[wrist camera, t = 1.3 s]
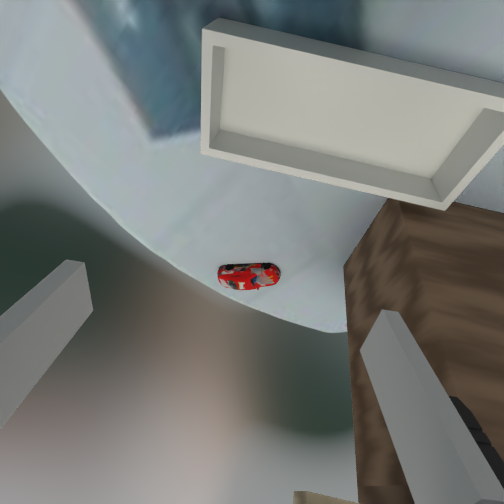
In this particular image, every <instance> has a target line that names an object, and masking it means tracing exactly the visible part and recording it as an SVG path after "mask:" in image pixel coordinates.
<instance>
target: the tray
mask: <svg viewBox="0 0 504 504" xmlns="http://www.w3.org/2000/svg"><path fill="white" fill-rule="evenodd" d="M503 145H504V83H500V82H496V81H492V80H487V79H483V78H479V77H474V76H470V75H466V74H461V73H457V72H453V71H449V70H444V69H440V68H436V67H431V66H427V65H423V64H418V63H414V62H410V61H405V60H401V59H397V58H393V57H388V56H384V55H380V54H375V53H371V52H367V51H362V50H358V49H354V48H349V47H345V46H341V45H336V44H332V43H328V42H324V41H319V40H315V39H311V38H306V37H302V36H298V35H293V34H289V33H285V32H280V31H276V30H272V29H267V28H263V27H259V26H255V25H250V24H246V23H242V22H237V21H233V20H229V19H224V18H220V17H219V18H217V19H216V20H214V21H213V22H211V23H210V24H208V25H207V26H205V27H204V28H202V77H201V154H203V155H207V156H211V157H216V158H220V159H224V160H229V161H233V162H237V163H241V164H246V165H250V166H254V167H259V168H263V169H267V170H271V171H276V172H280V173H284V174H289V175H293V176H297V177H302V178H306V179H310V180H314V181H319V182H323V183H327V184H332V185H336V186H340V187H344V188H349V189H353V190H357V191H362V192H366V193H370V194H375V195H379V196H383V197H387V198H392V199H396V200H400V201H405V202H409V203H413V204H417V205H422V206H426V207H430V208H435V209H439V210H443V211H445V210H446V209H447V208H448V207H449V206H450V205H451V203H452V202H453V201H454V200H455V199H456V198H457V197H458V196H459V194H460V193H461V192H462V191H463V190H464V189H465V188H466V187H467V185H468V184H469V183H470V182H471V181H472V180H473V179H474V178H475V176H476V175H477V174H478V173H479V172H480V171H481V170H482V168H483V167H484V166H485V165H486V164H487V163H488V162H489V161H490V159H491V158H492V157H493V156H494V155H495V154H496V153H497V152H498V150H499V149H500V148H501V147H502V146H503Z"/></svg>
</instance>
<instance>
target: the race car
mask: <svg viewBox="0 0 504 504" xmlns="http://www.w3.org/2000/svg"><path fill="white" fill-rule="evenodd" d="M279 279H280V271H279V269H278V268H277V267H276V266H274V265H271V264H270V263H263V264H262V266H261V264H241V265H235V267H234V265H233V264H230V265H229V264H228V265H226V266H222V267H220V268H219V270H218V280H219V282H220V283H221V285H222V286H224V287H226V288H231V289H236V290H251V289H256V288H257V290H258V289H259V287H264V286H271V285H274V284H276V283H277V282H278V281H279Z"/></svg>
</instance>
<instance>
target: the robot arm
mask: <svg viewBox="0 0 504 504" xmlns="http://www.w3.org/2000/svg"><path fill="white" fill-rule="evenodd" d="M92 311H93V308H92V302H91V296H90V291H89V285H88V280H87V274H86V268H85V263H84V262H78V261H71V260H65V261H64V262H63V263H62V264H61V265H60V266H58V267H57V268H56V269H55V270H54V271H53V272H51V273H50V274H49V275H48V276H47V277H46V278H44V279H43V280H42V281H41V282H40V283H39V284H37V285H36V286H35V287H34V288H33V289H32V290H30V291H29V292H28V293H27V294H26V295H25V296H23V297H22V298H21V299H20V300H19V301H18V302H16V304H14V305H13V306H12V307H11V308H9V309H8V310H7V311H6V312H5V313H4V314H3V315H1V316H0V429H1V428H2V427H3V426H4V424H5V423H6V422H7V420H8V419H9V418H10V417H11V415H12V414H13V413H14V411H15V410H16V409H17V407H18V406H19V405H20V404H21V402H22V401H23V400H24V398H25V397H26V396H27V395H28V393H29V392H30V391H31V389H32V388H33V387H34V386H35V384H36V383H37V382H38V381H39V379H40V378H41V377H42V375H43V374H44V373H45V372H46V370H47V369H48V368H49V366H50V365H51V364H52V363H53V361H54V360H55V358H56V357H57V356H58V355H59V354H60V352H61V351H62V350H63V348H64V347H65V346H66V344H67V343H68V342H69V341H70V339H71V338H72V337H73V336H74V334H75V333H76V332H77V330H78V329H79V328H80V327H81V325H82V324H83V323H84V321H85V320H86V319H87V317H88V316H89V315H90V314H91V312H92ZM360 352H361V355H362V358H363V361H364V363H365V366H366V369H367V372H368V375H369V377H370V380H371V383H372V386H373V389H374V391H375V394H376V397H377V400H378V402H379V405H380V408H381V411H382V414H383V416H384V419H385V422H386V425H387V427H388V430H389V433H390V436H391V439H392V441H393V444H394V447H395V450H396V453H397V455H398V458H399V461H400V464H401V466H402V469H403V472H404V475H405V478H406V480H407V483H408V486H409V489H410V492H411V494H412V497H413V500H414V503H415V504H504V462H503V460H502V459H501V457H500V456H499V454H498V452H497V451H496V449H495V448H494V447H492V445H491V444H492V443H491V441H490V440H489V438H488V437H487V435H486V434H485V433H484V432H483V431H482V427H481V426H480V424H479V423H478V421H477V420H476V418H475V416H474V415H473V413H472V412H471V411H470V410H469V409H468V408H467V407H466V406H465V405H464V404H463V402H462V401H461V400H460V399H459V398H458V397H454V396H448V395H447V393H446V391H445V389H444V388H443V386H442V384H441V383H440V381H439V379H438V378H437V376H436V374H435V373H434V371H433V369H432V368H431V366H430V364H429V363H428V361H427V359H426V357H425V356H424V354H423V352H422V351H421V349H420V347H419V346H418V344H417V342H416V341H415V339H414V337H413V336H412V334H411V332H410V331H409V329H408V327H407V325H406V324H405V322H404V320H403V319H402V317H401V315H400V314H399V312H396V311H389V310H383V309H382V310H381V312H380V314H379V316H378V318H377V319H376V321H375V323H374V325H373V327H372V329H371V331H370V332H369V334H368V336H367V338H366V340H365V342H364V343H363V345H362V347H361V349H360Z"/></svg>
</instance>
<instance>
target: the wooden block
mask: <svg viewBox="0 0 504 504" xmlns="http://www.w3.org/2000/svg"><path fill="white" fill-rule="evenodd" d="M343 268H344V283H345V299H346V315H347V330H348V346H349V360H350V376H351V392H352V408H353V424H354V439H355V454H356V470H357V486H358V502H359V504H415V503H414V500H413V497H412V494H411V492H410V489H409V486H408V483H407V480H406V478H405V475H404V472H403V469H402V466H401V464H400V461H399V458H398V455H397V453H396V450H395V447H394V444H393V441H392V439H391V436H390V433H389V430H388V427H387V425H386V422H385V419H384V416H383V414H382V411H381V408H380V405H379V402H378V400H377V397H376V394H375V391H374V389H373V386H372V383H371V380H370V377H369V375H368V372H367V369H366V366H365V363H364V361H363V358H362V355H361V352H360V349H361V347H362V345H363V343H364V342H365V340H366V338H367V336H368V334H369V332H370V331H371V329H372V327H373V325H374V323H375V321H376V319H377V318H378V316H379V314H380V312H381V310H382V309H383V310H389V311H396V312H399V314H400V315H401V317H402V319H403V320H404V322H405V324H406V325H407V327H408V329H409V331H410V332H411V334H412V336H413V337H414V339H415V341H416V342H417V344H418V346H419V347H420V349H421V351H422V352H423V354H424V356H425V357H426V359H427V361H428V363H429V364H430V366H431V368H432V369H433V371H434V373H435V374H436V376H437V378H438V379H439V381H440V383H441V384H442V386H443V388H444V389H445V391H446V393H447V395H448V396H454V397H458V398H459V399H460V400H461V401H462V402H463V404H464V405H465V406H466V407H467V408H468V409H469V410H470V411H471V412H472V413H473V415H474V416H475V418H476V420H477V421H478V423H479V424H480V426H481V427H482V431H483V432H484V433H485V434H486V435H487V437H488V438H489V440H490V441H491V443H492V444H491V445H492V447H494V448H495V449H496V451H497V452H498V454H499V456H500V457H501V459H502V460H503V462H504V214H503V213H499V212H495V211H490V210H486V209H482V208H477V207H473V206H469V205H465V204H460V203H456V202H452V203H451V205H450V206H449V207H448V208H447V209H446V210H445V211H443V210H439V209H435V208H430V207H426V206H422V205H417V204H413V203H409V202H405V201H400V200H396V199H392V198H388V199H387V201H386V202H385V204H384V205H383V207H382V208H381V210H380V212H379V213H378V215H377V216H376V218H375V219H374V221H373V222H372V224H371V225H370V227H369V228H368V230H367V231H366V233H365V234H364V236H363V238H362V239H361V241H360V242H359V244H358V245H357V247H356V248H355V250H354V251H353V253H352V254H351V256H350V257H349V259H348V261H347V262H346V264H345V265H344V267H343Z"/></svg>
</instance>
